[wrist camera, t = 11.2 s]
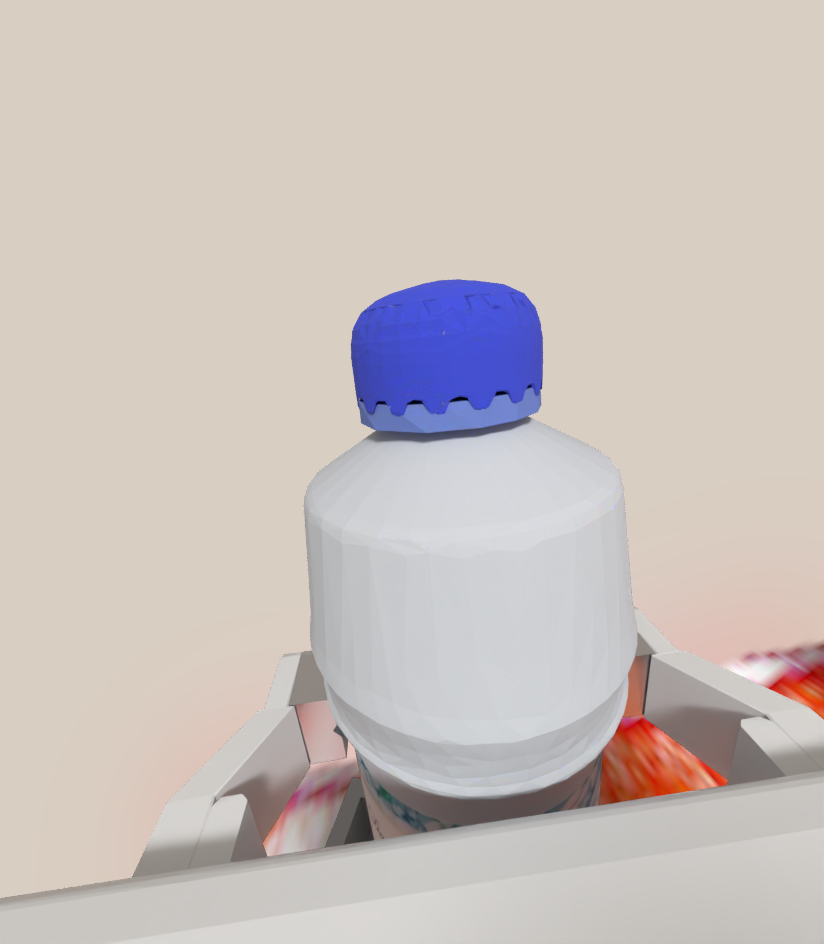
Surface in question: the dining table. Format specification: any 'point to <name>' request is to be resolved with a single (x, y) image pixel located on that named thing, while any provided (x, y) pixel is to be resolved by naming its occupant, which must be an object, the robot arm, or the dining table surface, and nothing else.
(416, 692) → the bottle
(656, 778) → the dining table surface
